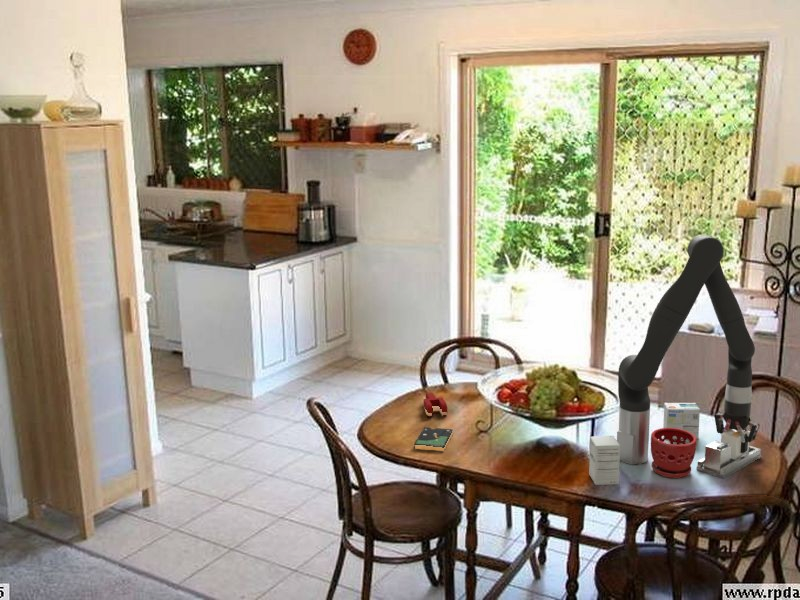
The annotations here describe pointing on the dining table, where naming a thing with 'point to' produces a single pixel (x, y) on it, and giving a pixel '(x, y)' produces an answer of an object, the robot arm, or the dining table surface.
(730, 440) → the block
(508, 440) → the dining table surface
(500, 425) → the dining table surface
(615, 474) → the supplement box
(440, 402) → the toy lobster
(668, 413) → the light bulb box
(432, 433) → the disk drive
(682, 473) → the plant pot
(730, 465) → the din rail
